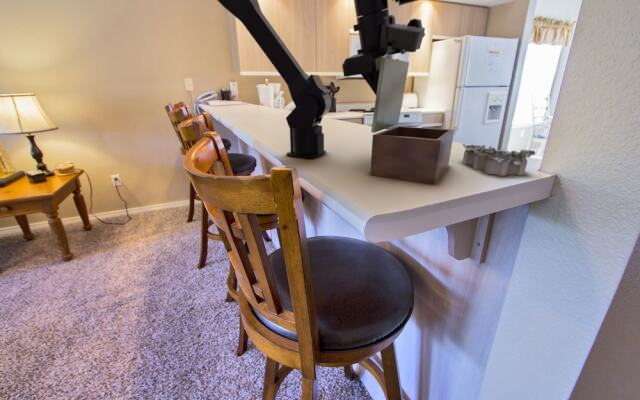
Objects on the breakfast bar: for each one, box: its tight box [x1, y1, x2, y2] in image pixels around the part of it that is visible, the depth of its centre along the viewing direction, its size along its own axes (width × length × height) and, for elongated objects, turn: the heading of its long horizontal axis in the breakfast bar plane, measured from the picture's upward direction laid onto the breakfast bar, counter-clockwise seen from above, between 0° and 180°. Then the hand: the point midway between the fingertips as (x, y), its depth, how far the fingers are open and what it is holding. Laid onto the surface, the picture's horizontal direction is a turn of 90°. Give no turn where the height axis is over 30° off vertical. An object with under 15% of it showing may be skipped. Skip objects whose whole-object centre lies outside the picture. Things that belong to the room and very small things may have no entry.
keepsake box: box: [369, 125, 455, 185], centre depth 51 cm, size 10×12×7 cm
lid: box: [370, 57, 410, 134], centre depth 50 cm, size 11×12×1 cm
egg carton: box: [461, 143, 536, 177], centre depth 52 cm, size 11×8×4 cm
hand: (383, 101), depth 60 cm, fingers closed
